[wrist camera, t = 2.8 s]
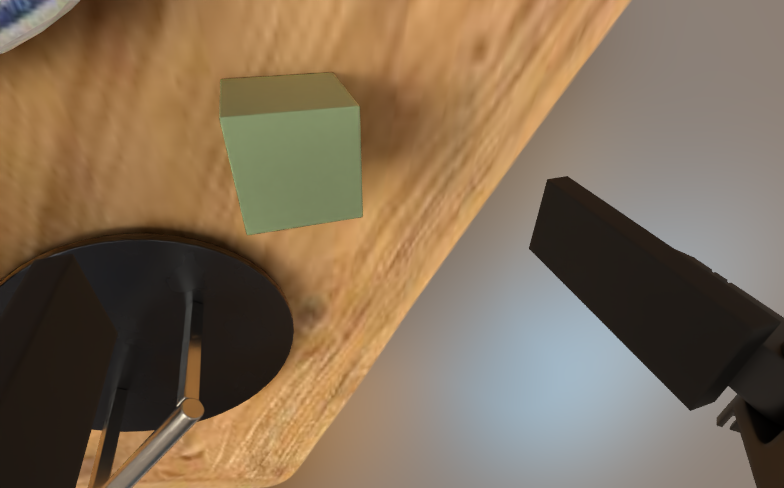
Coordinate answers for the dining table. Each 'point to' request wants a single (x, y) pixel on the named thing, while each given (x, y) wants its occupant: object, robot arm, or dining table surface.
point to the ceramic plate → (28, 19)
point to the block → (292, 149)
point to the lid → (174, 338)
